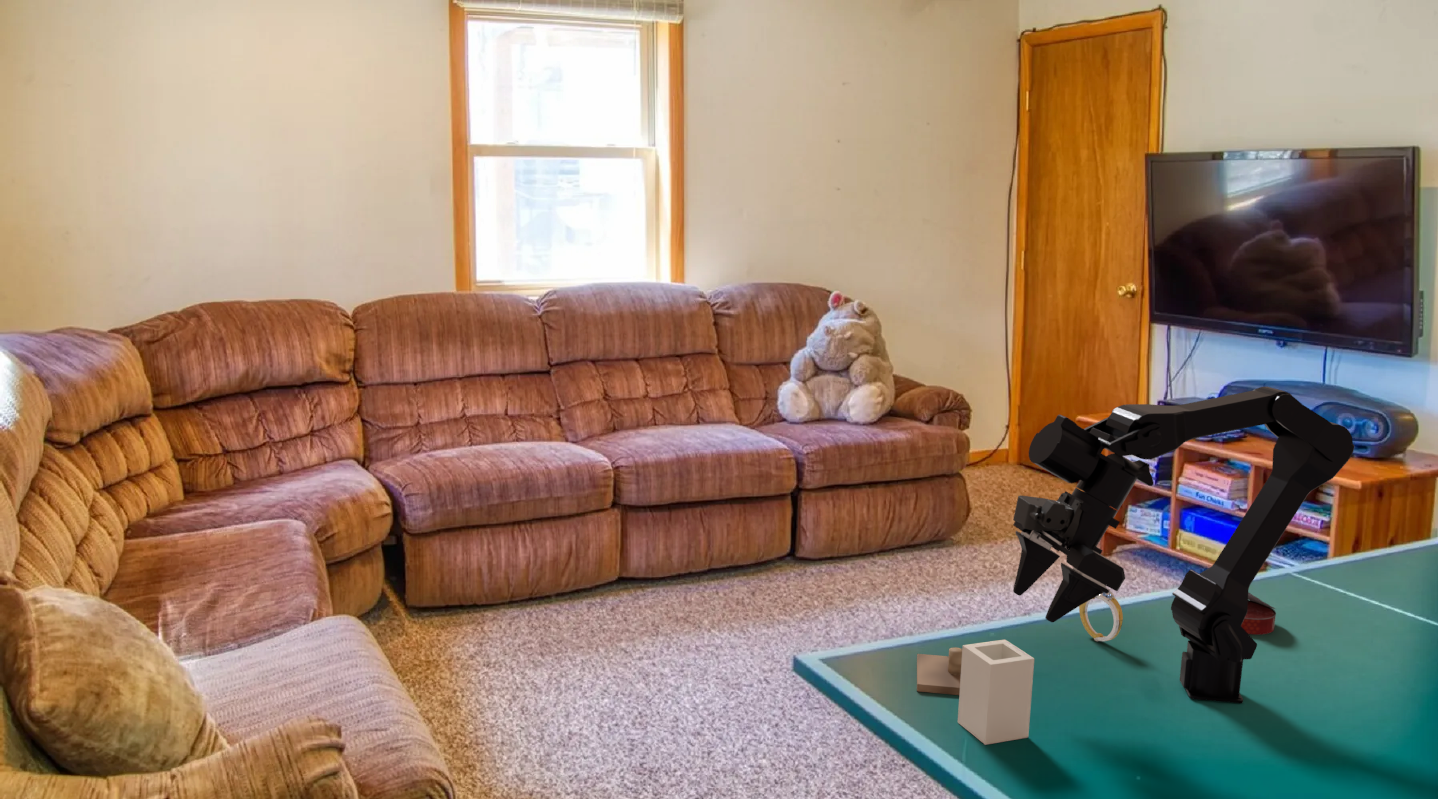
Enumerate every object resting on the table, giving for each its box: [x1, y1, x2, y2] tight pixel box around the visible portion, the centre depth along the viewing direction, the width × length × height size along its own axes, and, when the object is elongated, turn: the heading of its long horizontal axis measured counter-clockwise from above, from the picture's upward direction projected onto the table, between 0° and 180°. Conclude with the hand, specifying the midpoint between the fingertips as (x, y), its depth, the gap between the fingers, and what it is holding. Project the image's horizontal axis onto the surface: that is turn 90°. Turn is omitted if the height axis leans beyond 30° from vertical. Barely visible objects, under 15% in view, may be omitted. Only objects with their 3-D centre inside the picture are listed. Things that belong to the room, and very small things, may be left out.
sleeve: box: [957, 639, 1035, 746], centre depth 139 cm, size 6×6×10 cm
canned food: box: [1241, 591, 1277, 636], centre depth 176 cm, size 10×9×9 cm
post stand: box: [916, 646, 962, 696], centre depth 154 cm, size 10×10×4 cm
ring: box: [1078, 586, 1124, 642], centre depth 167 cm, size 7×3×8 cm, turn 25°
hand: (1032, 606), depth 145 cm, fingers open, 9 cm apart
